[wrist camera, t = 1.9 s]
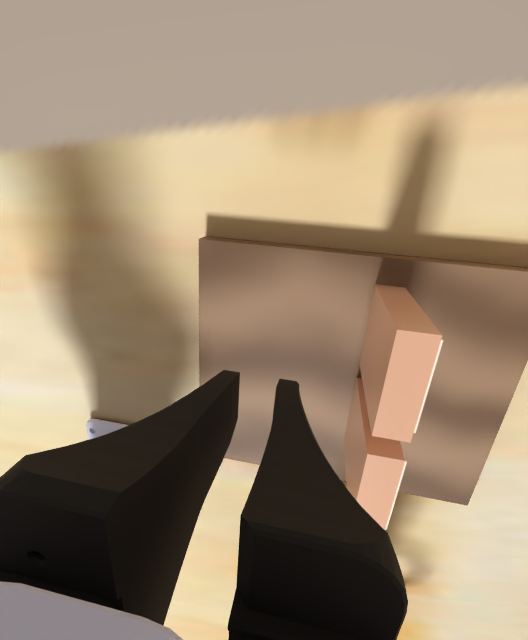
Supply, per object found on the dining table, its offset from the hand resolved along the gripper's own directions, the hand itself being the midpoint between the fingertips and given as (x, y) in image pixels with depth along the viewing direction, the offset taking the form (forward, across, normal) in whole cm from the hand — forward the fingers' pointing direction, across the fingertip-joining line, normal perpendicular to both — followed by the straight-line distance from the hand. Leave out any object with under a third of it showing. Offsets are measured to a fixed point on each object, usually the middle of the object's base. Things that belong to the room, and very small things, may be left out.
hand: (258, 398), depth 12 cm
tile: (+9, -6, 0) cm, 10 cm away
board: (+10, -4, +4) cm, 11 cm away
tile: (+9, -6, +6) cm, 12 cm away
